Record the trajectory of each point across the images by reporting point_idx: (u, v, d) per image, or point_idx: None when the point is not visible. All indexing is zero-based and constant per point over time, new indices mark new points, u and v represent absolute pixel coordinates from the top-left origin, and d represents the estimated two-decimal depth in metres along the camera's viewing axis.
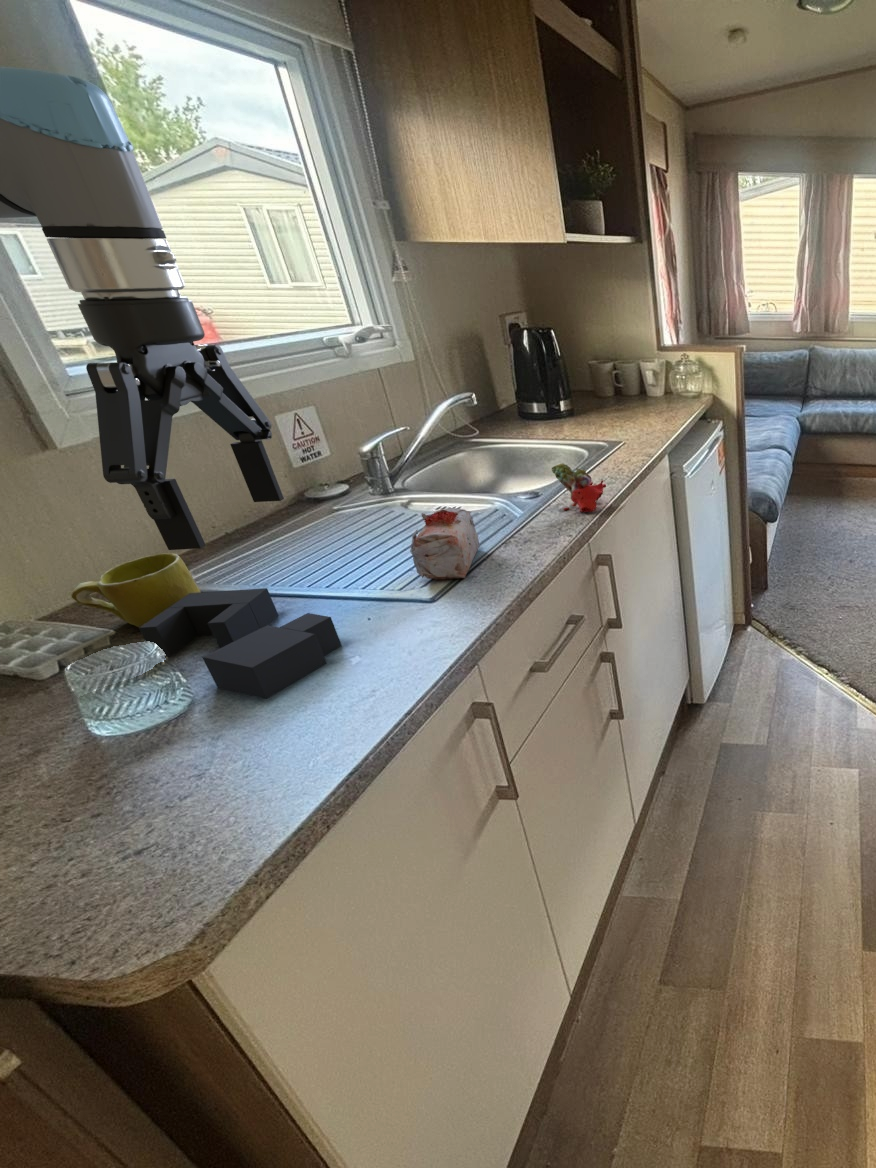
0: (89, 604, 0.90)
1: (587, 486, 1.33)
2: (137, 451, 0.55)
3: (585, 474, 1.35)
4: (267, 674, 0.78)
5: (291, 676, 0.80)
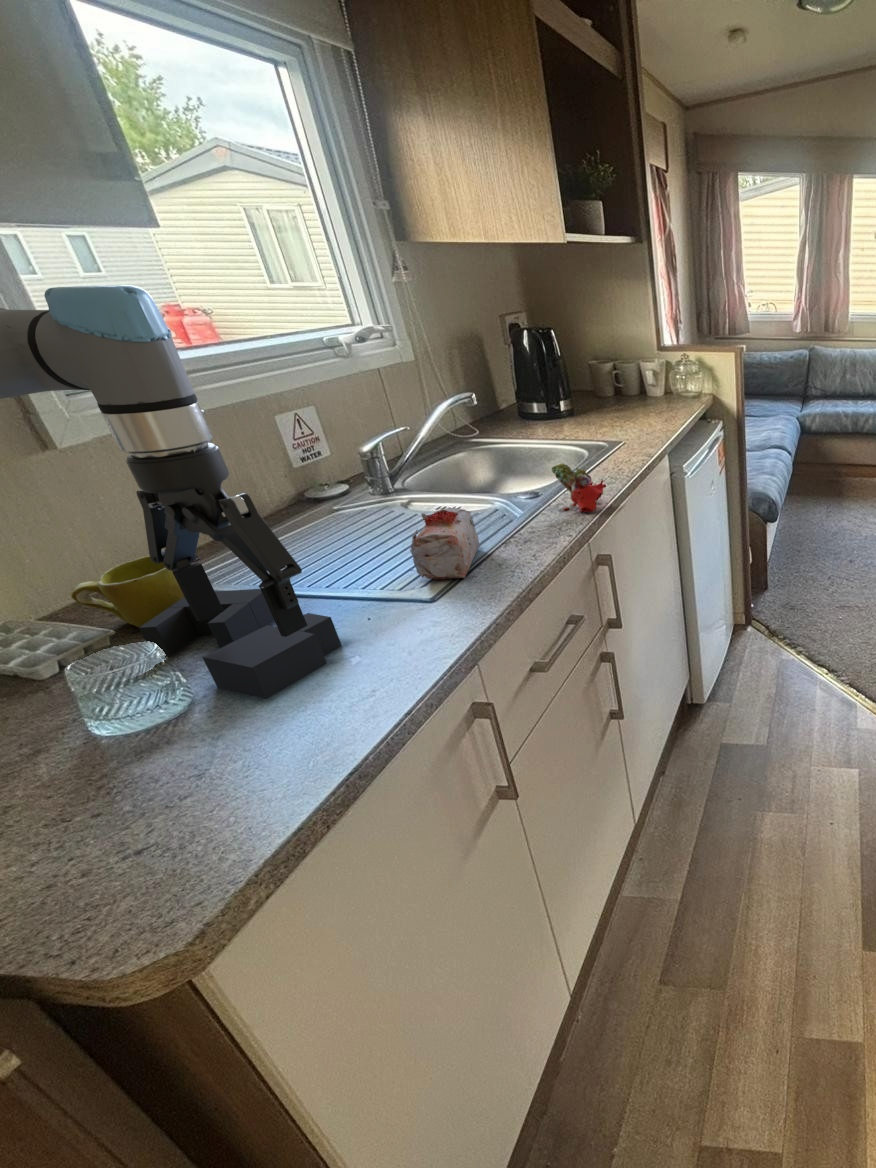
0: (89, 604, 0.90)
1: (587, 486, 1.33)
2: None
3: (585, 474, 1.35)
4: (267, 674, 0.78)
5: (291, 676, 0.80)
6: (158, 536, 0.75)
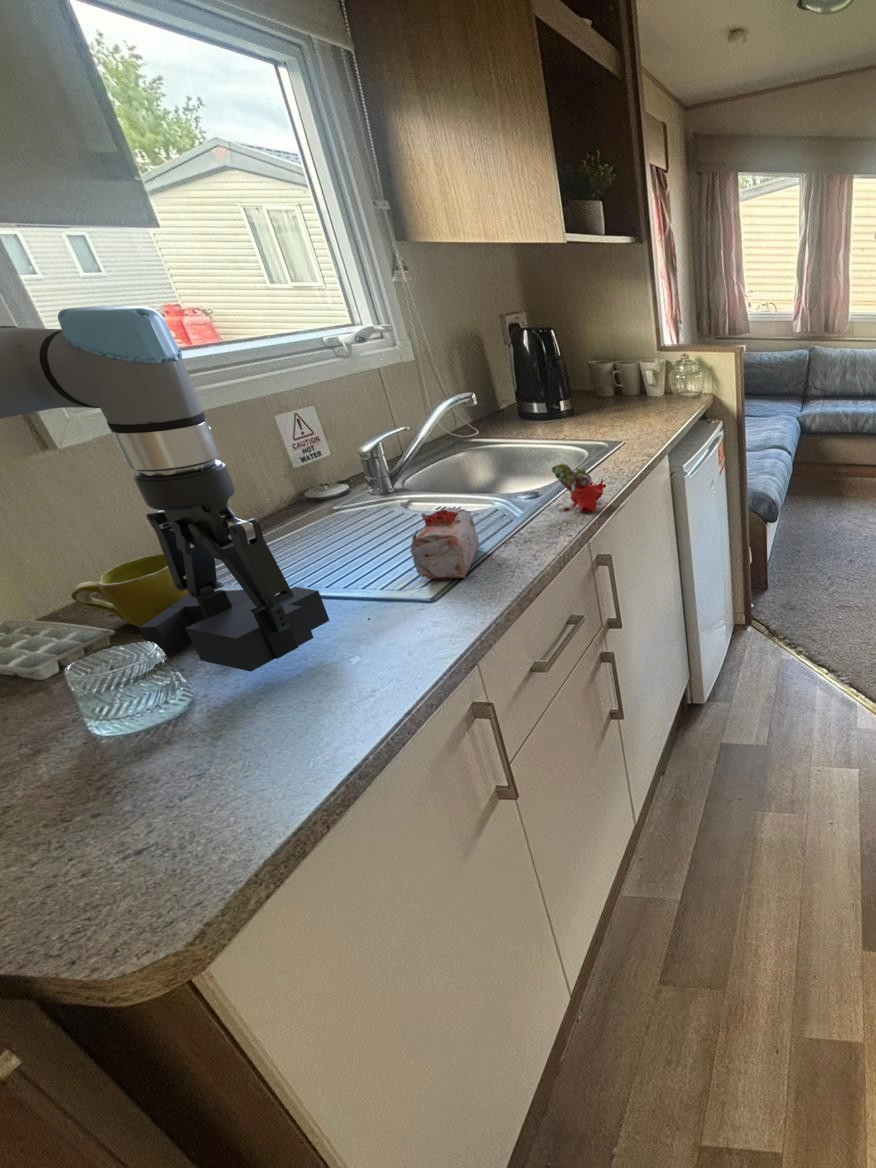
0: (89, 604, 0.90)
1: (587, 486, 1.33)
2: None
3: (585, 474, 1.35)
4: (252, 646, 0.76)
5: None
6: (177, 560, 0.76)
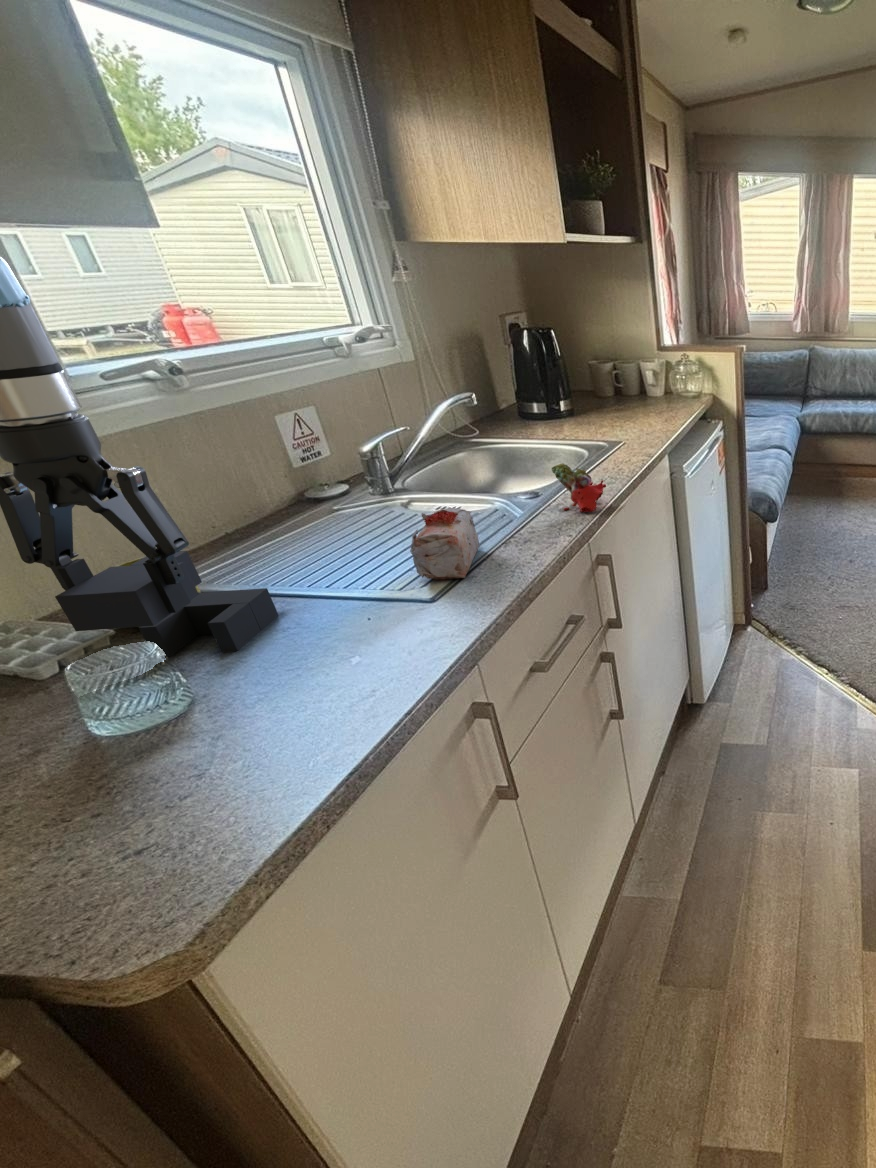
0: None
1: (587, 486, 1.33)
2: None
3: (585, 474, 1.35)
4: (149, 600, 0.75)
5: None
6: (26, 528, 0.72)
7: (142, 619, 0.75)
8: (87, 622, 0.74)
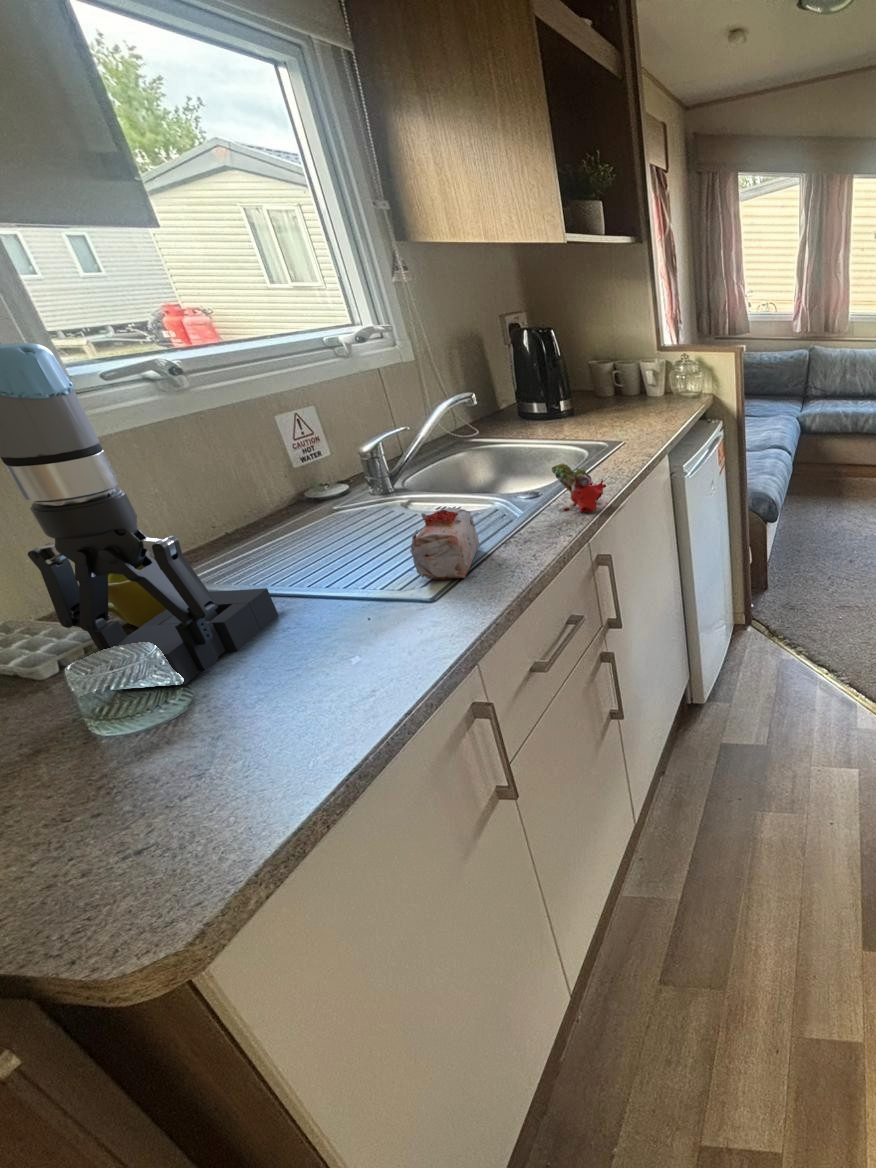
0: None
1: (587, 486, 1.33)
2: None
3: (585, 474, 1.35)
4: (181, 661, 0.79)
5: None
6: (65, 595, 0.76)
7: None
8: None
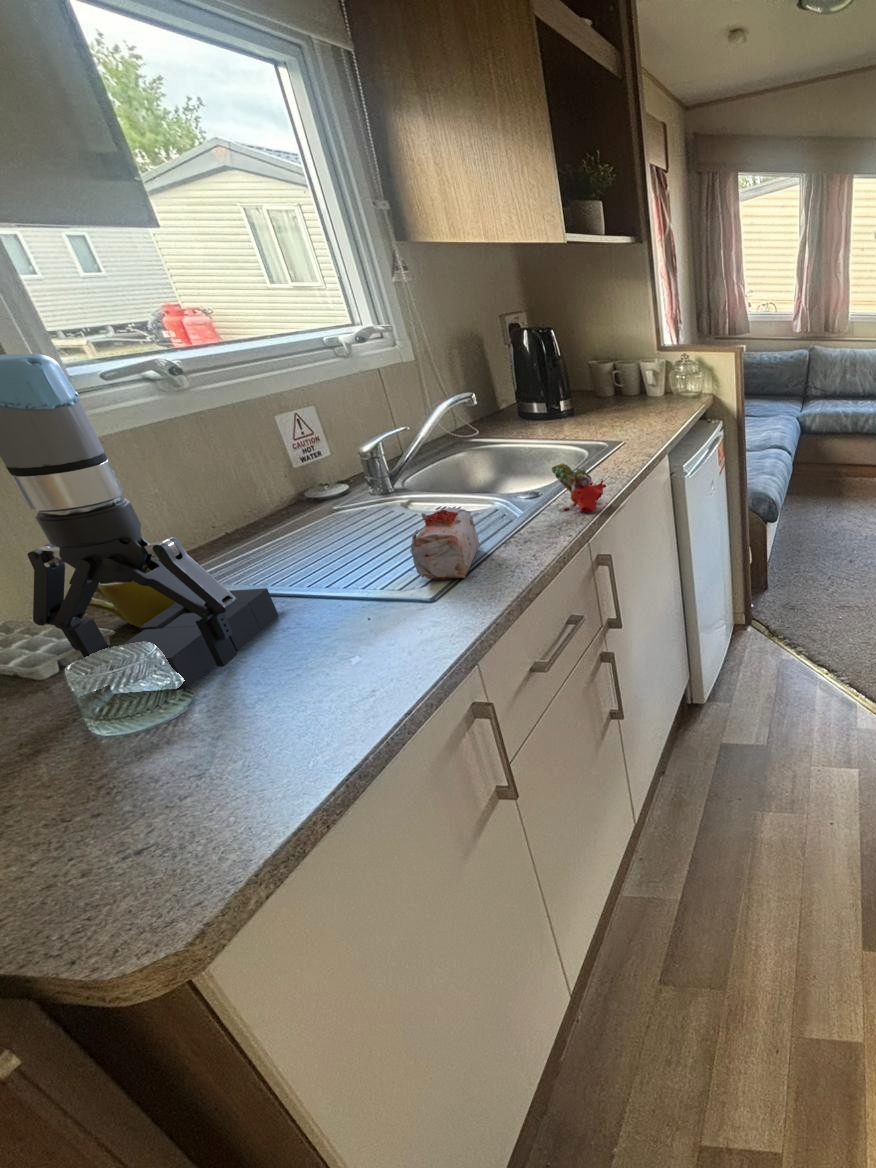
0: (89, 604, 0.90)
1: (587, 486, 1.33)
2: None
3: (585, 474, 1.35)
4: (183, 665, 0.80)
5: (202, 666, 0.82)
6: (49, 596, 0.76)
7: None
8: None
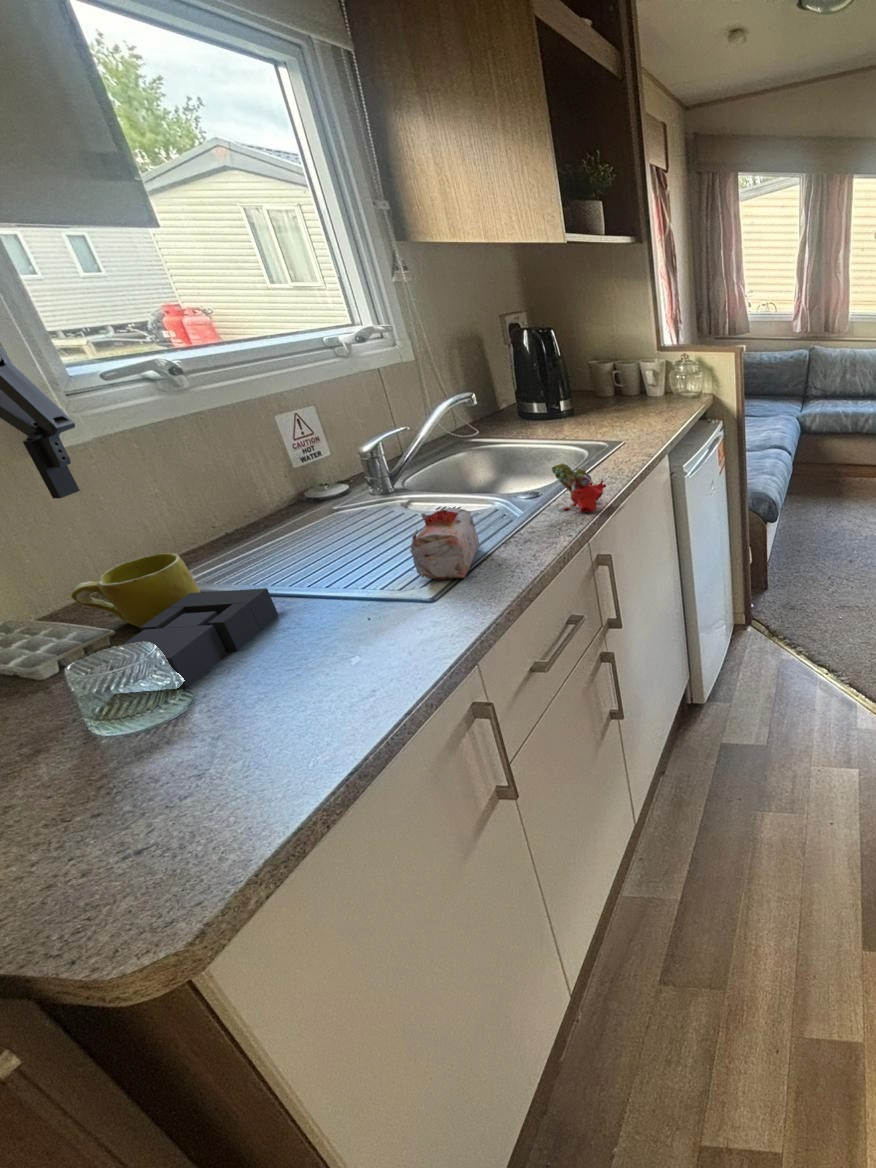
0: (89, 604, 0.90)
1: (587, 486, 1.33)
2: None
3: (585, 474, 1.35)
4: (183, 665, 0.80)
5: (202, 666, 0.82)
6: None
7: None
8: None
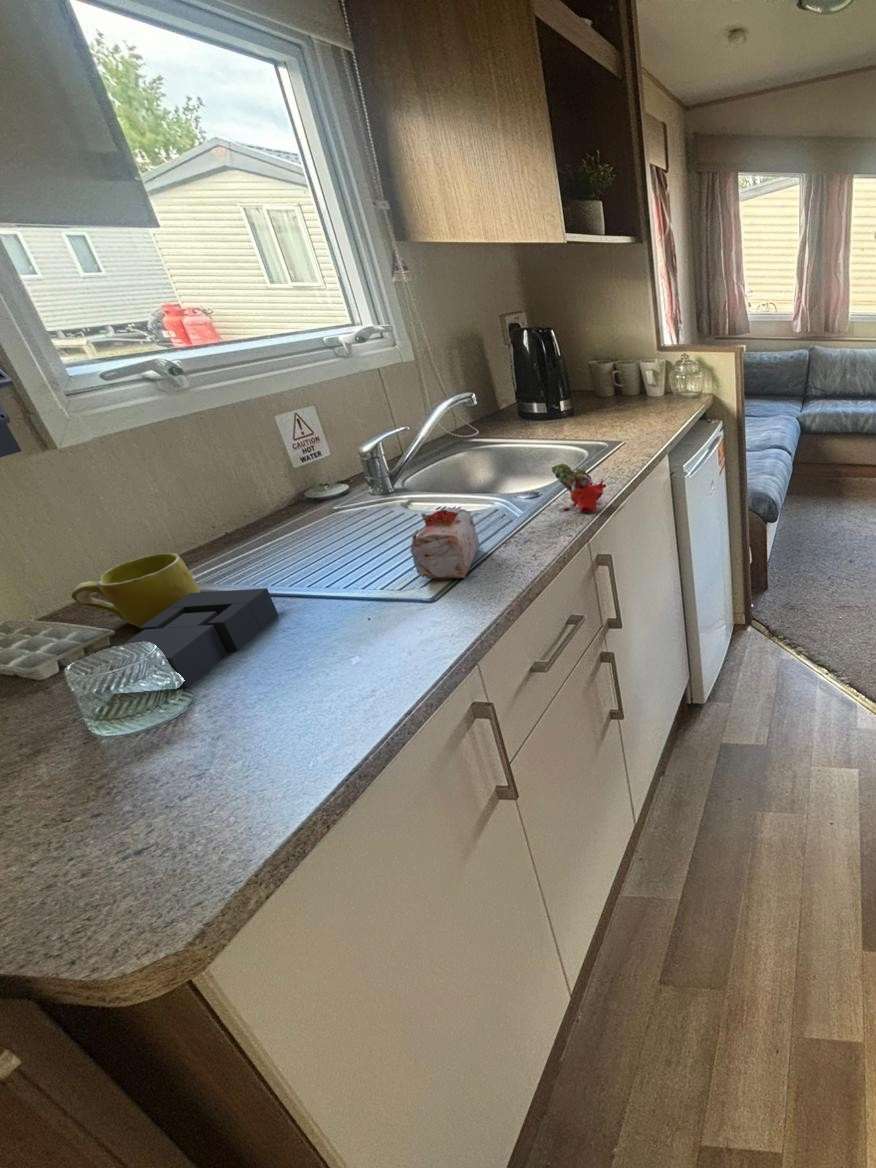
0: (89, 604, 0.90)
1: (587, 486, 1.33)
2: None
3: (585, 474, 1.35)
4: (183, 665, 0.80)
5: (202, 666, 0.82)
6: None
7: None
8: None
